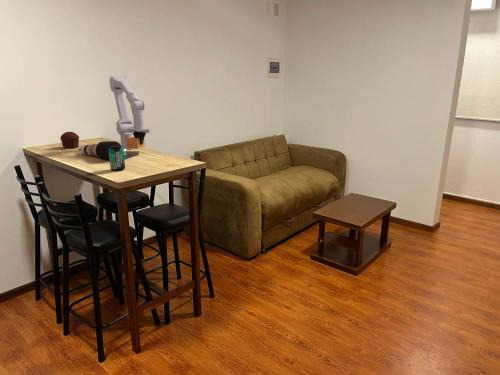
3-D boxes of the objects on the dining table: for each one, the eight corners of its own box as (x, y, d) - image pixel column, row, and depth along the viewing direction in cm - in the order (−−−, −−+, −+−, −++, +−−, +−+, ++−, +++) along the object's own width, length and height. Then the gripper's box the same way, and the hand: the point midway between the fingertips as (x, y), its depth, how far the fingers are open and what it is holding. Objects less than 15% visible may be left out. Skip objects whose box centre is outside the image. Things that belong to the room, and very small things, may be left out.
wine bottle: (85, 160, 239) (89, 144, 241) (119, 162, 219) (124, 144, 221) (70, 155, 231) (74, 138, 233) (104, 156, 211) (108, 138, 213)
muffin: (60, 147, 254) (58, 131, 251) (78, 145, 260) (76, 130, 257) (63, 150, 244) (60, 134, 241) (82, 148, 250) (80, 132, 247)
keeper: (122, 153, 235) (122, 146, 234) (138, 154, 232) (138, 147, 231) (107, 158, 222) (107, 151, 221) (124, 159, 219) (123, 152, 218)
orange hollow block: (134, 146, 243) (133, 136, 241) (145, 146, 241) (144, 136, 239) (127, 148, 236) (125, 138, 234) (138, 148, 234) (136, 138, 232)
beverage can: (126, 167, 202) (124, 144, 198) (123, 171, 195) (120, 147, 191) (113, 168, 201) (110, 144, 198) (108, 171, 195) (106, 147, 191)
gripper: (123, 121, 231) (126, 144, 235) (145, 123, 227) (147, 146, 231) (130, 120, 238) (132, 142, 242) (152, 121, 233) (153, 144, 237)
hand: (140, 144), depth 237 cm, fingers closed on orange hollow block
